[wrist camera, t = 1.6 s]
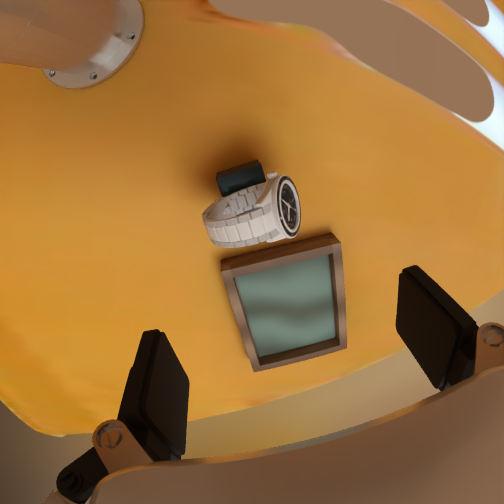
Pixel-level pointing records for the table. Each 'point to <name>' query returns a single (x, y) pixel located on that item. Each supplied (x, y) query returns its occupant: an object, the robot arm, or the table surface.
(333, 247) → the watch tray
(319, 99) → the table surface
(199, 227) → the table surface
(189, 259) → the table surface
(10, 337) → the table surface
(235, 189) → the watch
